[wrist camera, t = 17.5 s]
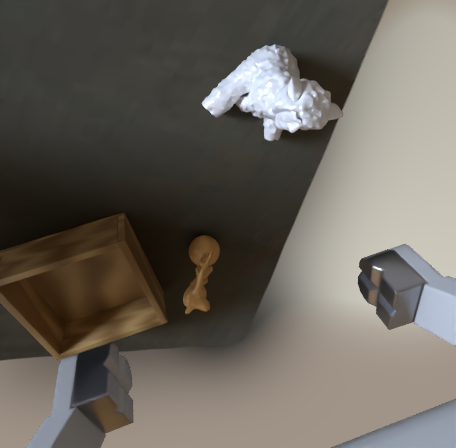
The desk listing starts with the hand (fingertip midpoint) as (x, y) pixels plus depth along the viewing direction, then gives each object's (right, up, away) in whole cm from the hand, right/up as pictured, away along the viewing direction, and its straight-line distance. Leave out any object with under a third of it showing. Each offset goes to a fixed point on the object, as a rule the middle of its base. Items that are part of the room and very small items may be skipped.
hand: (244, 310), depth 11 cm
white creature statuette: (+2, +17, +24) cm, 30 cm away
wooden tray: (-18, -4, +32) cm, 37 cm away
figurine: (-5, +1, +33) cm, 34 cm away
